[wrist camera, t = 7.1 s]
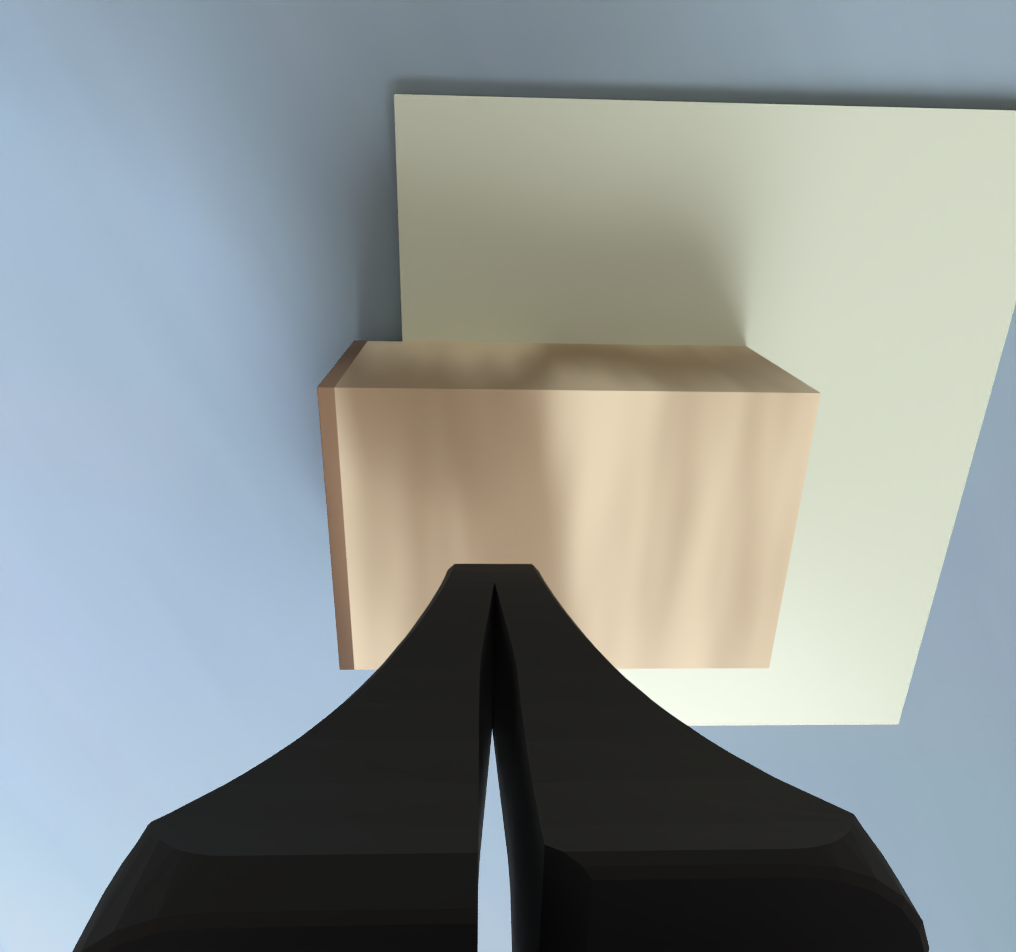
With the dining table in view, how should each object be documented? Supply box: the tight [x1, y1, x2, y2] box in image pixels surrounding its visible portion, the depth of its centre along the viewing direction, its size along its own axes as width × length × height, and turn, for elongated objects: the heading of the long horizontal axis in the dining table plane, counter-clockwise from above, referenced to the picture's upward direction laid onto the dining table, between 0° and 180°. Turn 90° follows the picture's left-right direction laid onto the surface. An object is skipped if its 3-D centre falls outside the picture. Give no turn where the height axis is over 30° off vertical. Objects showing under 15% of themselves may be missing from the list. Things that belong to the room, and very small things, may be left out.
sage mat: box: [394, 94, 1016, 726], centre depth 18 cm, size 14×16×1 cm
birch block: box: [317, 341, 821, 670], centre depth 16 cm, size 4×6×9 cm
